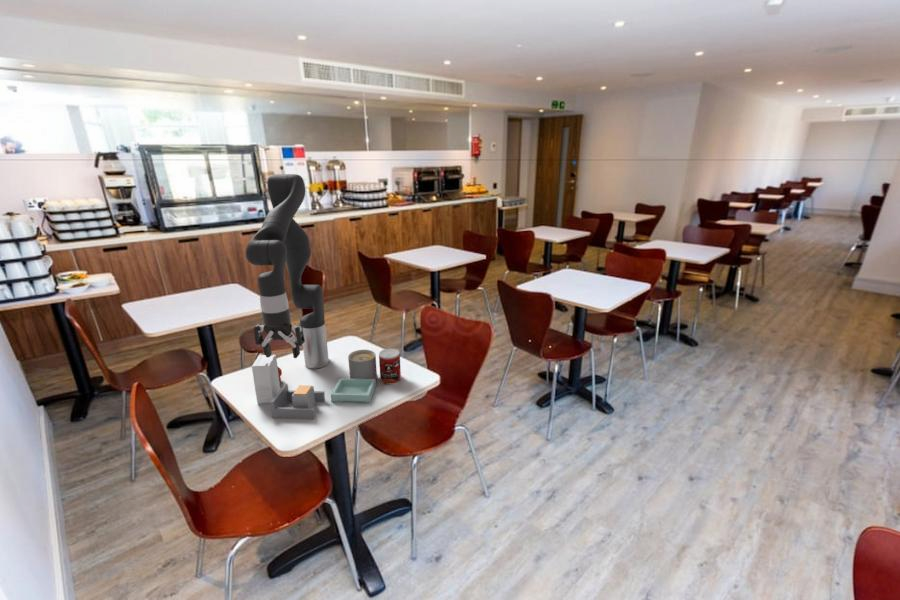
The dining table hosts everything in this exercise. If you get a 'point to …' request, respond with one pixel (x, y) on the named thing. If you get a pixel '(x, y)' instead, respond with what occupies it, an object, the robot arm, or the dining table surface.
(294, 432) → the dining table surface
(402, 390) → the dining table surface
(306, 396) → the grey block tan panel
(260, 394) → the skincare box
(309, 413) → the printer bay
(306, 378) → the dining table surface
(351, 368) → the coffee mug
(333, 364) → the dining table surface
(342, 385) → the tray
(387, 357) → the canned food
